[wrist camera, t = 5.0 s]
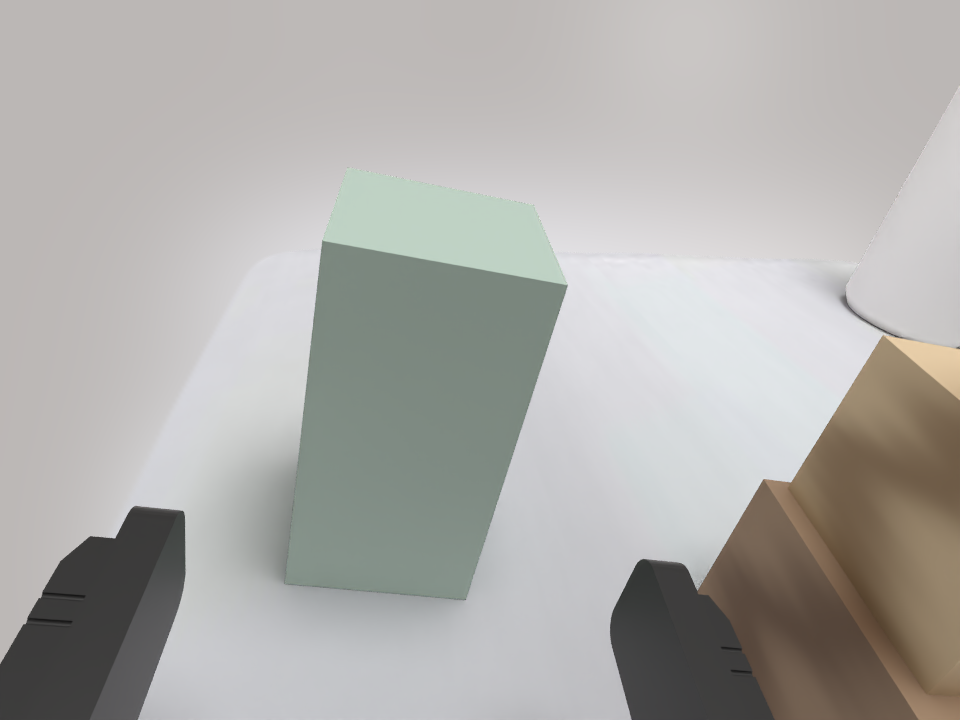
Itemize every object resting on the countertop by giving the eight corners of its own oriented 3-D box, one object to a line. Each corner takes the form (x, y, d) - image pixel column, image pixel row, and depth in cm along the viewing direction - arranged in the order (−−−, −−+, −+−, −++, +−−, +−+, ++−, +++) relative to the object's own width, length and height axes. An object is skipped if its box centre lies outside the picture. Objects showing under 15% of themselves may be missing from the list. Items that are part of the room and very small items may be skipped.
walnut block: (694, 595, 21) (763, 479, 18) (883, 612, 22) (972, 505, 20) (802, 849, 15) (925, 729, 13) (1051, 853, 16) (1207, 745, 14)
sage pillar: (311, 461, 22) (347, 167, 17) (457, 479, 23) (533, 204, 18) (284, 583, 18) (322, 240, 13) (465, 599, 19) (568, 285, 14)
